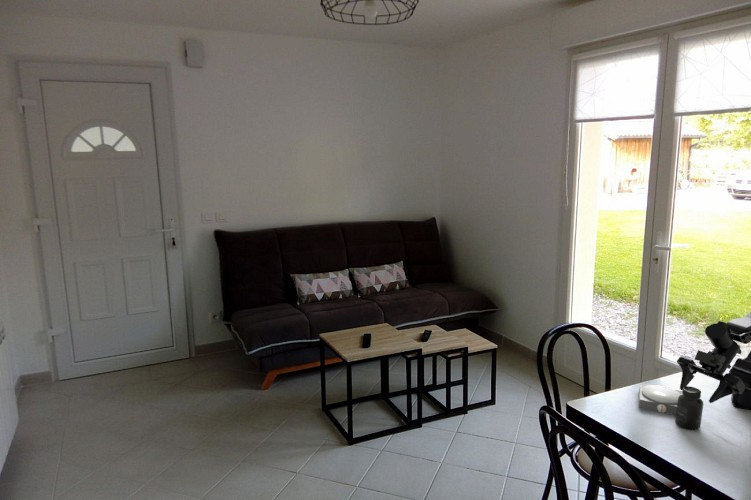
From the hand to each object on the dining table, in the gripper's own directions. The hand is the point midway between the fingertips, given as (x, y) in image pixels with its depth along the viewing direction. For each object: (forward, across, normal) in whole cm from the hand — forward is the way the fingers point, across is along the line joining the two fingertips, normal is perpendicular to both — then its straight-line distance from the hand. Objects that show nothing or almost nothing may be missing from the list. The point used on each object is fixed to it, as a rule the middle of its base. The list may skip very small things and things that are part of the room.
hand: (694, 395), depth 160 cm
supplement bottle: (+8, 0, +6) cm, 10 cm away
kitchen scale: (+4, -13, +9) cm, 16 cm away
